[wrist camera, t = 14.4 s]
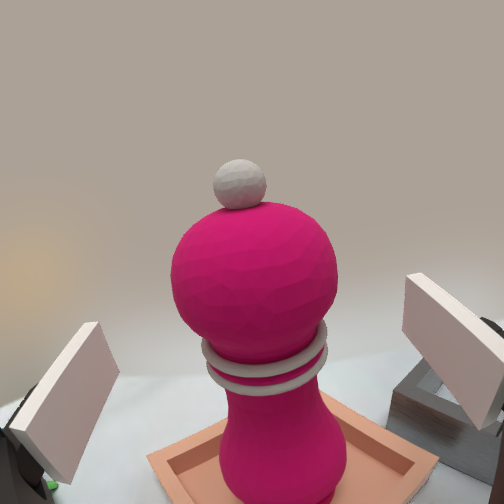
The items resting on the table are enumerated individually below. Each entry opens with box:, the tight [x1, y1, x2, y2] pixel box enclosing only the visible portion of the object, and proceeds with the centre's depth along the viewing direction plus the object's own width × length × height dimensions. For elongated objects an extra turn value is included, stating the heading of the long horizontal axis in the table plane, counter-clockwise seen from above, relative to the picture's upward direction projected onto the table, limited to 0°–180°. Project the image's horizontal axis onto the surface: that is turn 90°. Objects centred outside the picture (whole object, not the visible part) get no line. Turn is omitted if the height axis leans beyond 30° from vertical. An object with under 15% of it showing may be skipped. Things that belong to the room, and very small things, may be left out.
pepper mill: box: [171, 159, 347, 504], centre depth 13 cm, size 7×7×20 cm
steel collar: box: [386, 357, 502, 486], centre depth 17 cm, size 11×11×5 cm
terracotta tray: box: [146, 390, 440, 504], centre depth 16 cm, size 14×14×3 cm
